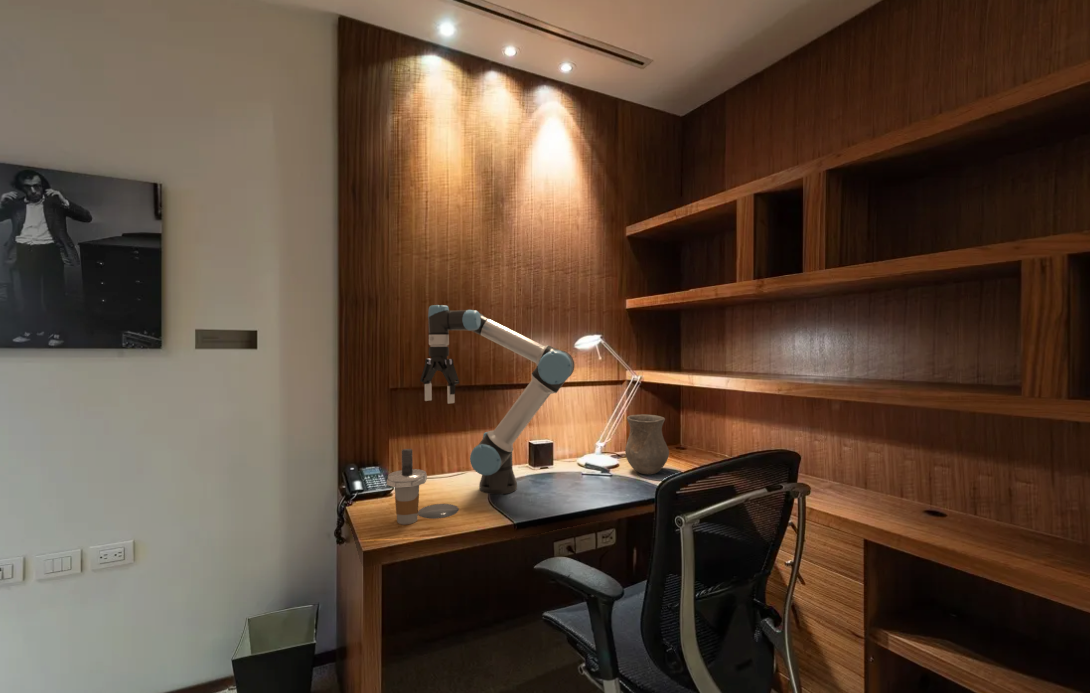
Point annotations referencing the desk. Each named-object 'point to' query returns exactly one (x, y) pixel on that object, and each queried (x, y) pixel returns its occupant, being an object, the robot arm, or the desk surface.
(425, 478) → the lid
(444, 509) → the disc
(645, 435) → the vase
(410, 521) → the coffee cup
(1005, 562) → the desk surface
